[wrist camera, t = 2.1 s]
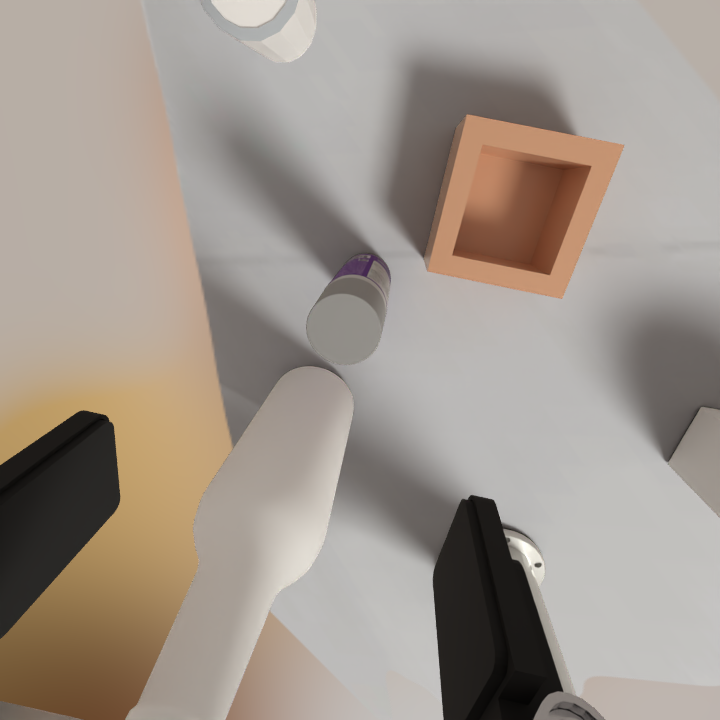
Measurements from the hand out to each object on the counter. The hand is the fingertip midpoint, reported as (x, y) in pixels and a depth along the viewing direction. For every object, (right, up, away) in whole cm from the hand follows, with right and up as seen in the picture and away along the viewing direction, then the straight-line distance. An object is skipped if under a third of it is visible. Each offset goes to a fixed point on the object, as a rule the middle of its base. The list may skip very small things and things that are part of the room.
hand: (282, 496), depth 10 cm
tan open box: (+14, +16, +23) cm, 31 cm away
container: (+3, +11, +26) cm, 29 cm away
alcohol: (-3, -1, +32) cm, 32 cm away
